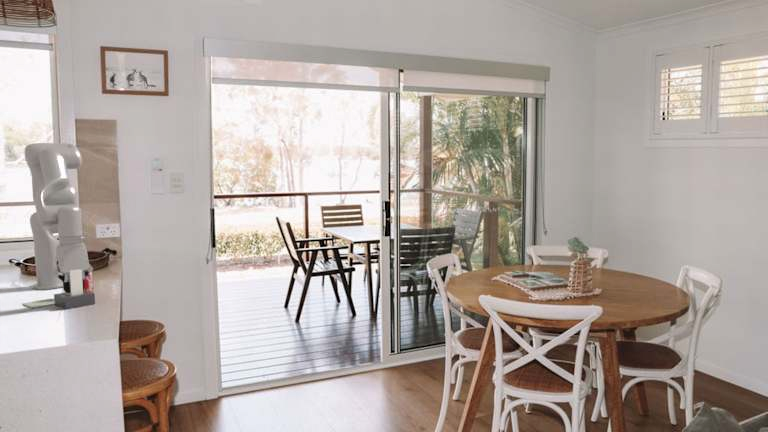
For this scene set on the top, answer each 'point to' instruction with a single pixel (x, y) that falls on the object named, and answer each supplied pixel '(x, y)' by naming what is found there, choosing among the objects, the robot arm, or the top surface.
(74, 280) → the plug
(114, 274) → the top surface
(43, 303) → the mat
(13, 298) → the top surface
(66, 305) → the grey square socket block
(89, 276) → the soda can
